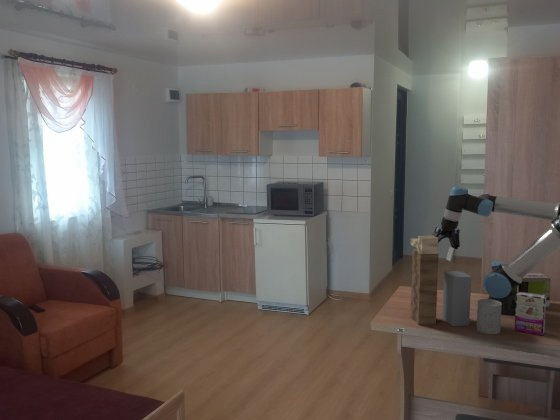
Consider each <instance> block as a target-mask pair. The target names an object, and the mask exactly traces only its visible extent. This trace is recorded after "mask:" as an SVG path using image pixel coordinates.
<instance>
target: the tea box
mask: <svg viewBox="0 0 560 420" xmlns="http://www.w3.org/2000/svg"><path fill="white" fill-rule="evenodd" d="M551 281H552V280H551V277H549V276H547V275H546V274H544V273H542V272H541V273H540V272H528V273H527V274H526V275H525V276H523V277H522V283H521V284H519V285H518V286H517V293H518V292H525V293H533V294H540V295H546V308H550V303H551V302H550V301H551Z"/></svg>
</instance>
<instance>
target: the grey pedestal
mask: <svg viewBox="0 0 560 420" xmlns="http://www.w3.org/2000/svg"><path fill="white" fill-rule="evenodd" d="M443 272H444V273H443V294H442V295H443V298H442V315H441V316H442V317H441V319H442V320H444V321H445V322H446V323H448V324H449V325H450V326H451V327H458V326H459V327H460V326H462V327H463V326H470V320H471V319H470V316H471V315H470V314H471V296H472V294H471V292H472V276H471V275H469V274H467V273H466V272H464V271H462V270H451V271H450V270H447V271H443Z"/></svg>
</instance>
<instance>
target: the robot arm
mask: <svg viewBox="0 0 560 420" xmlns="http://www.w3.org/2000/svg"><path fill="white" fill-rule="evenodd" d="M463 211H467V212H470V213H473V214H477V215H479V216H482V217H490V215H491V214H492V213H500V214H507V215H512V216H513V215H514V216H520V217H527V218H532V219H534V218H535V219H540V220H546V221H550V227H549V228H548V229H547V230H545V231H544V232H543V233H541V234H540V235H539V236H538V237H536V239H534V240H533V241H532V242H531V243H529V245H527V246H526V247H525V248H523V249H522V250H521V251H520V252H519V253H518V254H517V255H515V256H514V257H513V258H512V259H510V260H508V262H507V261H493V262H492V263H491V265H490V267H491V269H490V270H491V271H490V272H489V273H488V274H487V275H485V277H484V280H483V288H484V290H485V292H486V293H487V294H488V297H487V299H492V300H496V301H499V302H501V303H502V306H501V315H515V311H516V294H517V286H518V285H519V284H521V283H522V277H523V276H525V275H526V274H527V273H531V271H532V270H533V269H535V268H536V267H538V266H539V265H540V264H541V263H542V262H543V261H545V260H546V259H548V257H550V256H551V255H552V254H553V253H555V252H556V251H557V250H558V249H559V248H560V202H557V203H553V202H551V203H550V202H545V201H544V202H543V201H536V200H535V201H534V200H529V199H521V198H520V199H519V198H513V197H506V196H505V197H504V196H496V195H491V194H489V193H483V194H481V195H478V196H476V195H473V194H470V193H469V189H468V188H465V187H462V186H459V185H455V186H452V187H451V189H450V193H449V195H448V199H447V202H446V207H445V209H444V213H443V216H442V219H441V222H440V225H441V227H435V229H434V231H433V233H432V234H431V236H435V237H437V238H438V244H439V243H440V242H441V241H442V240H443V239H448V240H449V241H448V242H449V243H450V246H449V248H448V251H447V254H446V257H445V259H446V260H447V261H448V262H452V260H453V256H454V254H455V252H456V250H458V248H460V245H461V244H460V229H459V228H458V226H459V221H460V219H461V217H462V213H463Z"/></svg>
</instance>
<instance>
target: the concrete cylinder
mask: <svg viewBox="0 0 560 420" xmlns="http://www.w3.org/2000/svg"><path fill="white" fill-rule="evenodd" d="M501 306H502V303H501V302H499V301H496V300H492V299H488V298H481V299H478V300H477V312H476V313H477V314H476V315H477V316H476V331H478V332H479V333H481V334H486V335H498V334H500V333H501V321H502V320H501V318H502V314H501Z"/></svg>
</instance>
